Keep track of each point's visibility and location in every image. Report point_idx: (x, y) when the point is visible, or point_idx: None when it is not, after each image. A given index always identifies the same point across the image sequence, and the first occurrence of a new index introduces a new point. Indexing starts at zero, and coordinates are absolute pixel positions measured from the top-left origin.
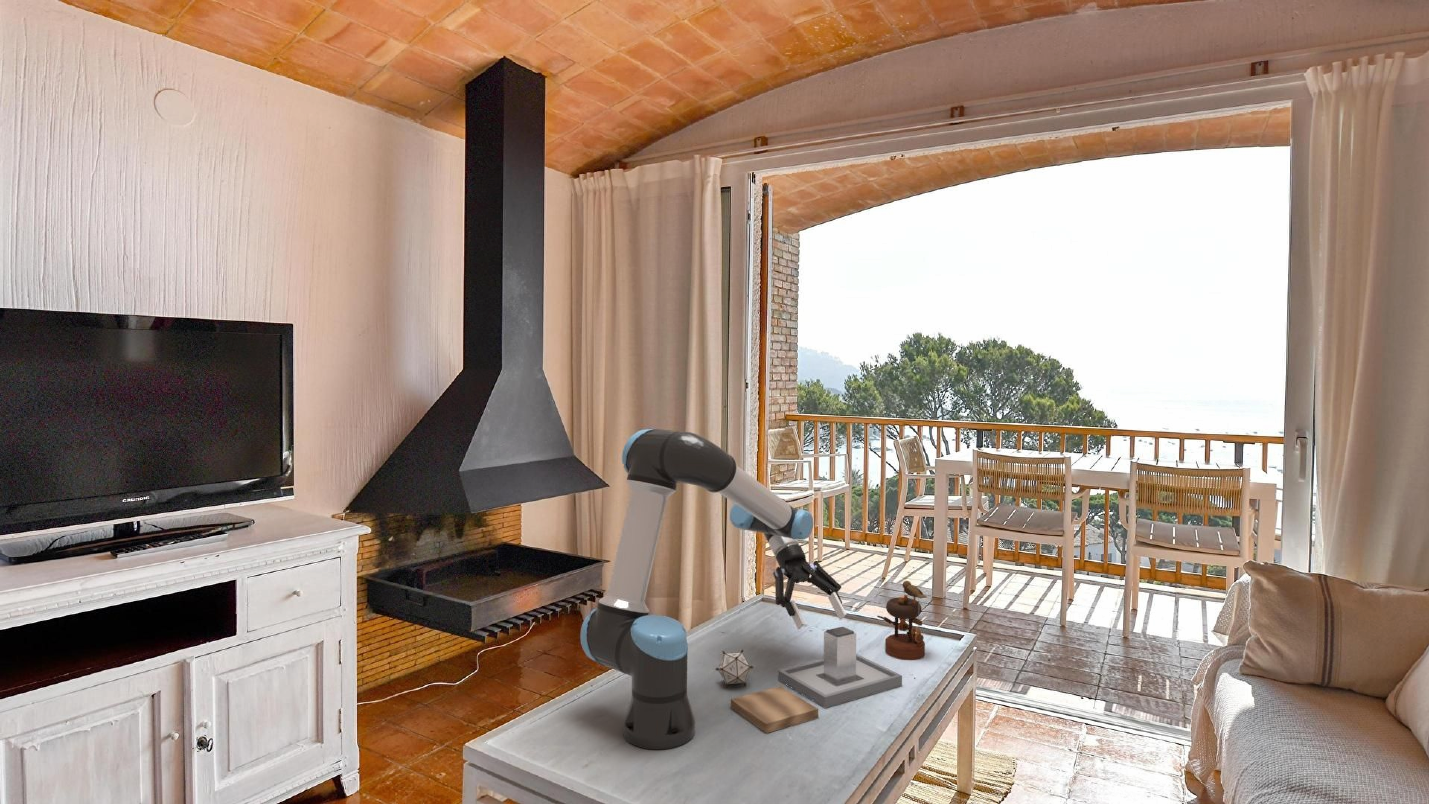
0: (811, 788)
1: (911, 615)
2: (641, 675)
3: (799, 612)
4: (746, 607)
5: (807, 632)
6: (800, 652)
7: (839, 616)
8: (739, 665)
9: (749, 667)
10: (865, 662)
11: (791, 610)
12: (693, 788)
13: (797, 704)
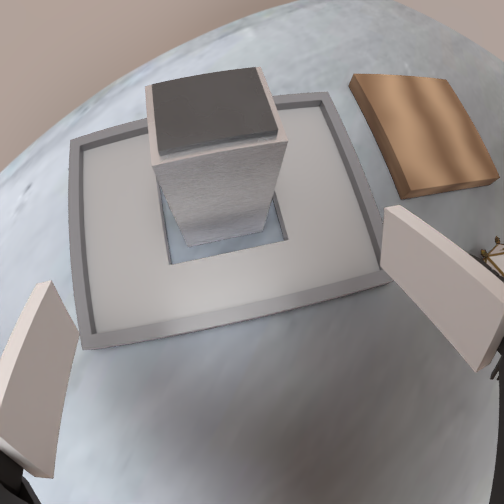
0: (393, 2)
1: None
2: None
3: (435, 244)
4: None
5: None
6: (228, 476)
7: (70, 334)
8: None
9: (487, 255)
10: (85, 266)
11: (484, 266)
12: (494, 58)
13: (390, 101)
